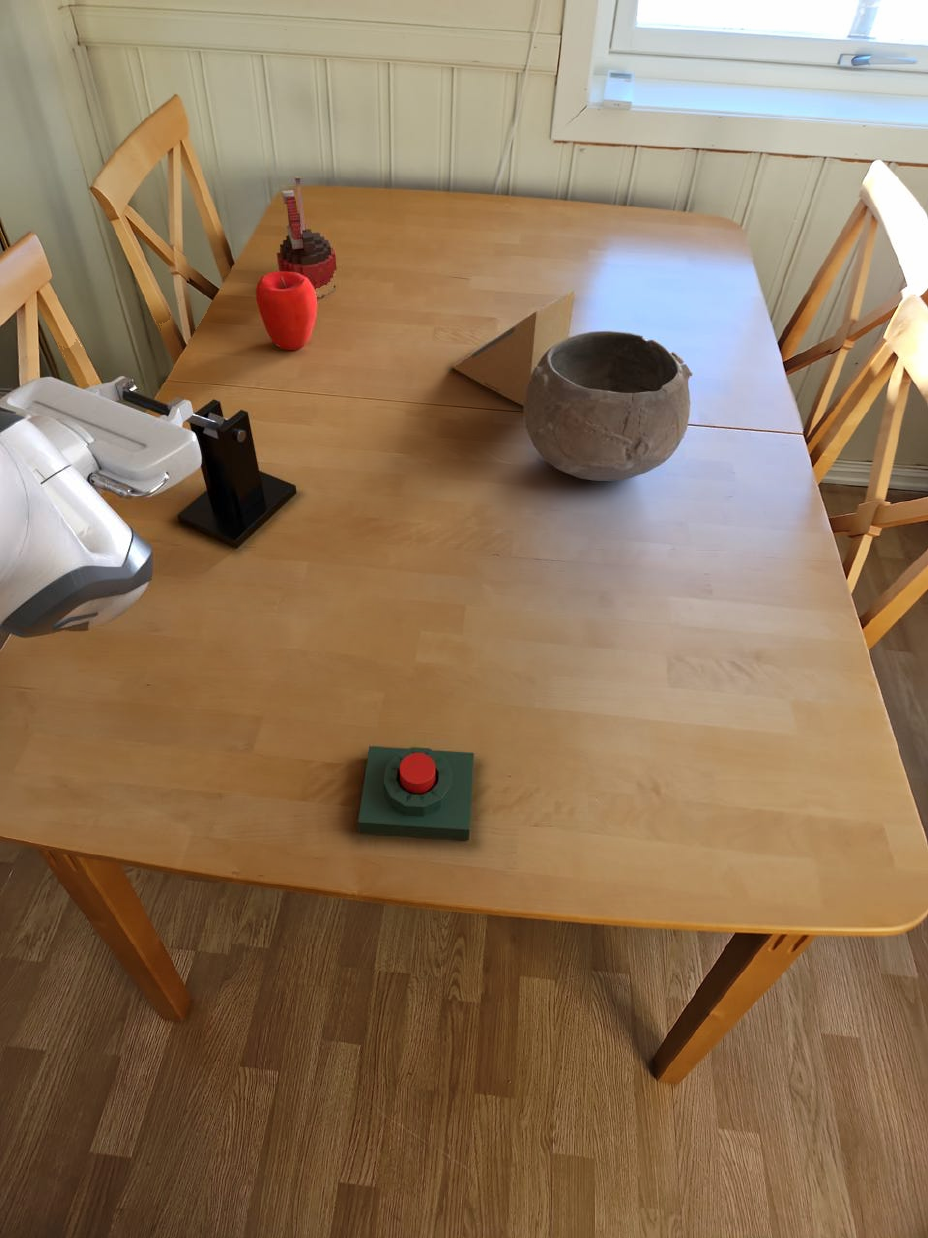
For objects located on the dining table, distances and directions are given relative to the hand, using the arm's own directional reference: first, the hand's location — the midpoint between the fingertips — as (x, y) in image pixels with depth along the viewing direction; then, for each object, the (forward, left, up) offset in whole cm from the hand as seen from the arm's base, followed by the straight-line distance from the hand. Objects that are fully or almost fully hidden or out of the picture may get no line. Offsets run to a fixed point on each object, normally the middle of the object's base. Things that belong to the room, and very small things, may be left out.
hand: (158, 393), depth 84 cm
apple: (-12, +44, -21) cm, 50 cm away
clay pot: (+40, +35, -21) cm, 57 cm away
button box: (+38, -22, -21) cm, 48 cm away
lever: (0, +2, -6) cm, 6 cm away
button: (+38, -22, -17) cm, 47 cm away
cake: (-18, +61, -21) cm, 67 cm away
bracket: (+1, +7, -21) cm, 22 cm away
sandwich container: (+22, +49, -21) cm, 58 cm away
